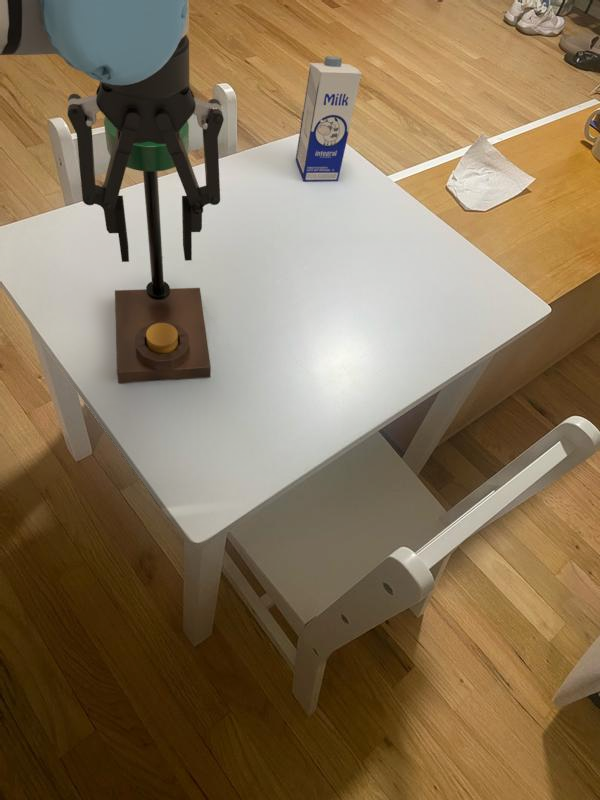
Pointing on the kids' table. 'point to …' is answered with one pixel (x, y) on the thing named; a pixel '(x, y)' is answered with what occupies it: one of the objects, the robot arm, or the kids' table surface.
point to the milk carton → (326, 119)
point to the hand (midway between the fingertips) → (156, 252)
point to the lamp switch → (162, 338)
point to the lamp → (151, 197)
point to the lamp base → (143, 312)
